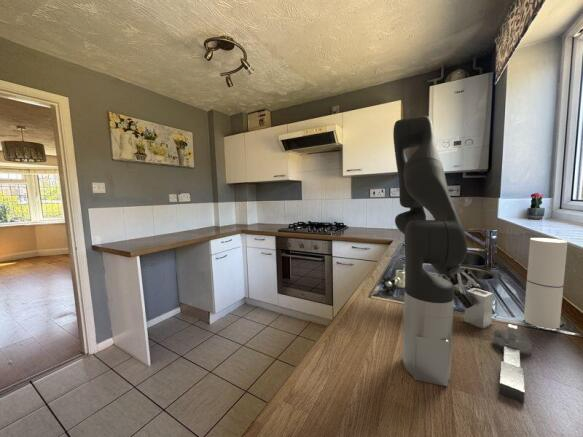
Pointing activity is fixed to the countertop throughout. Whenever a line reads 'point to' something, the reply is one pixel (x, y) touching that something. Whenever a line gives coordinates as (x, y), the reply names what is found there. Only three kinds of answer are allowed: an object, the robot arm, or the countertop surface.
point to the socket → (479, 308)
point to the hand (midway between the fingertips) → (478, 303)
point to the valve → (395, 281)
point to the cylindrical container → (545, 282)
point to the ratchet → (512, 361)
